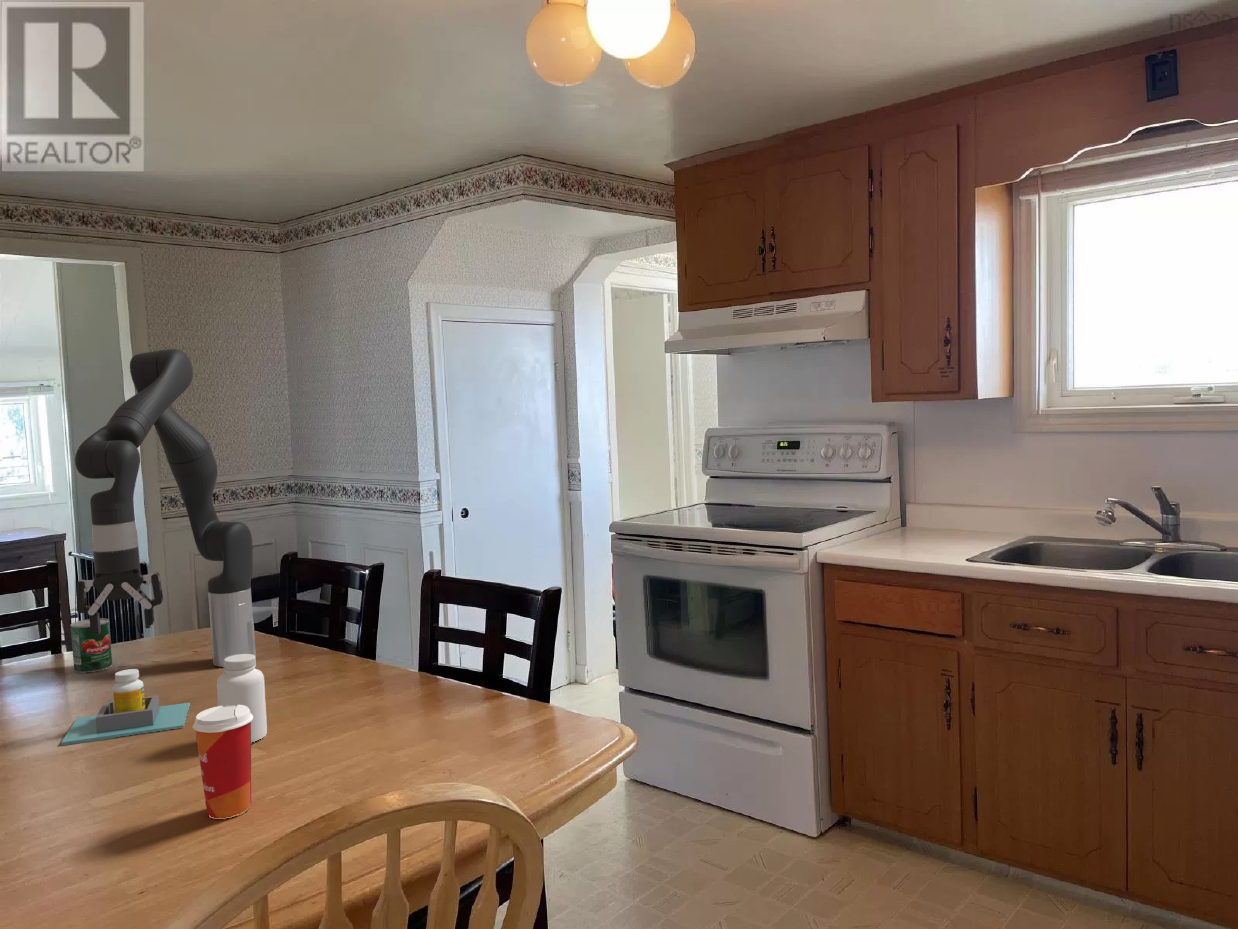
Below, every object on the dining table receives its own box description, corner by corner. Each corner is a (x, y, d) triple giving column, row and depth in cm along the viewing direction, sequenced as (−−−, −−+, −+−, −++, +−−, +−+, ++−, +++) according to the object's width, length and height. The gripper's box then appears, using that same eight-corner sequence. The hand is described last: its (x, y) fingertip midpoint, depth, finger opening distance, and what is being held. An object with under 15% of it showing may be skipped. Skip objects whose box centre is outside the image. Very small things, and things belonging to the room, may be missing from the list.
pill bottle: (277, 733, 167) (272, 653, 166) (242, 749, 160) (237, 666, 159) (245, 728, 170) (240, 649, 169) (210, 744, 163) (204, 661, 162)
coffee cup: (210, 800, 140) (204, 705, 138) (266, 796, 140) (259, 701, 139) (189, 826, 131) (182, 724, 130) (248, 822, 132) (241, 720, 131)
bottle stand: (190, 705, 185) (188, 688, 184) (183, 728, 172) (182, 709, 171) (77, 720, 178) (76, 702, 178) (61, 745, 165) (59, 726, 164)
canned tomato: (90, 663, 218) (86, 618, 218) (120, 663, 217) (116, 618, 216) (65, 673, 211) (61, 626, 210) (96, 673, 209) (93, 626, 209)
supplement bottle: (112, 721, 175) (108, 672, 174) (142, 714, 179) (139, 666, 178) (117, 728, 171) (113, 678, 170) (149, 721, 174) (145, 671, 174)
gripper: (160, 539, 178) (166, 621, 179) (76, 547, 173) (84, 630, 174) (155, 545, 171) (162, 630, 172) (68, 553, 166) (76, 640, 167)
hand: (123, 630), depth 173 cm, fingers open, 8 cm apart
